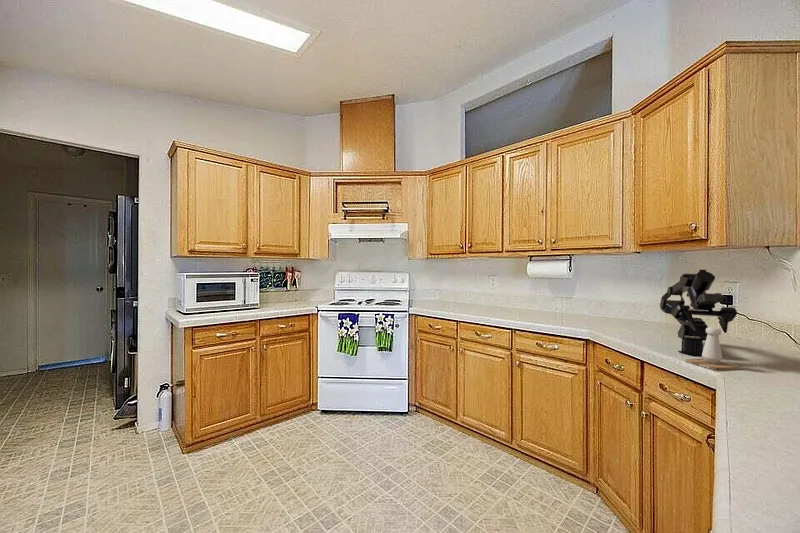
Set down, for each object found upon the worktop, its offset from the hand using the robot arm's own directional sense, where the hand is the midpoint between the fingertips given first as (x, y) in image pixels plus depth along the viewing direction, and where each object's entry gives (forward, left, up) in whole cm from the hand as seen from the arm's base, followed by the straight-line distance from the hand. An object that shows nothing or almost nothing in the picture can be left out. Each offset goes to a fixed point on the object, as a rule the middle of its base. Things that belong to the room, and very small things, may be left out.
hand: (710, 331), depth 138 cm
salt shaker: (+1, -1, -11) cm, 12 cm away
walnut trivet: (+2, -1, -12) cm, 13 cm away
